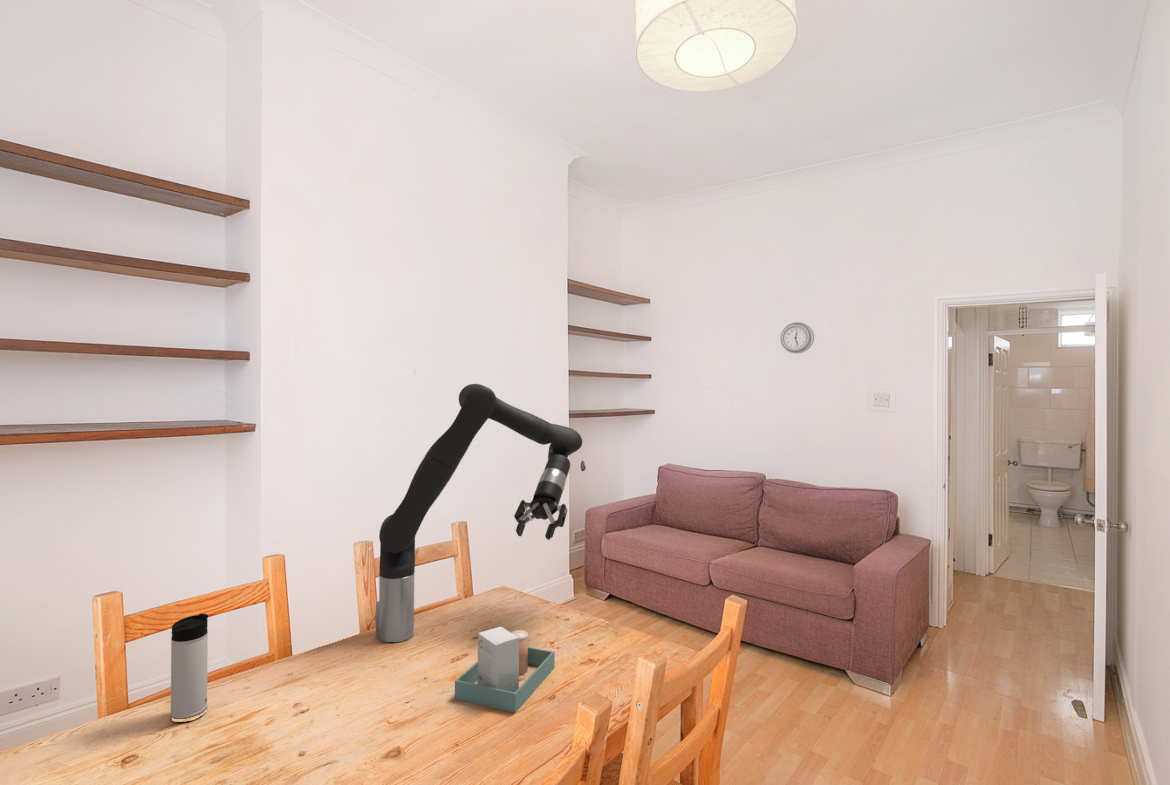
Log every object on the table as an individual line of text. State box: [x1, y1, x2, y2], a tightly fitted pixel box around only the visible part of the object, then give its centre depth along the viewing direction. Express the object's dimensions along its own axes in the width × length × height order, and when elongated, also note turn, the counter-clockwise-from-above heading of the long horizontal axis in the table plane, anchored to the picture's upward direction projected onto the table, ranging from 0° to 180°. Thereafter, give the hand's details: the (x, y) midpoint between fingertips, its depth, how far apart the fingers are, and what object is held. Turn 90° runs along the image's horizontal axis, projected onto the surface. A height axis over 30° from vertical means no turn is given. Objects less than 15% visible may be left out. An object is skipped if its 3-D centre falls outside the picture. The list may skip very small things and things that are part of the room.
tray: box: [454, 646, 556, 713], centre depth 135 cm, size 15×21×4 cm
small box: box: [476, 626, 520, 692], centre depth 131 cm, size 8×6×13 cm
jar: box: [510, 629, 529, 676], centre depth 141 cm, size 4×4×9 cm
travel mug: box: [170, 612, 209, 719], centre depth 120 cm, size 6×7×20 cm
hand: (533, 536), depth 157 cm, fingers open, 8 cm apart
